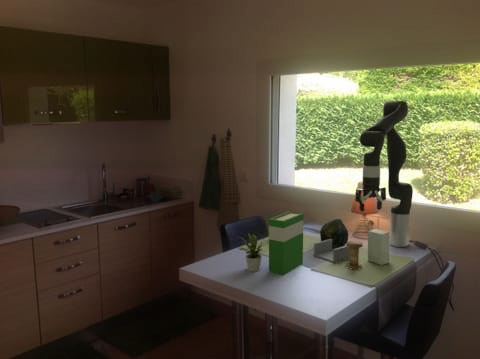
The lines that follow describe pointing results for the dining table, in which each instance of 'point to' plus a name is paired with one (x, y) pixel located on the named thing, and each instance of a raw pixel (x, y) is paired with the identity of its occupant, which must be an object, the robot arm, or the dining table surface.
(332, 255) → the notch cradle
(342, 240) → the squash
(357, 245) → the bobbin
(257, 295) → the dining table surface
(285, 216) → the hardback book
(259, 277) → the dining table surface
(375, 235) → the skincare box
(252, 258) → the house plant
